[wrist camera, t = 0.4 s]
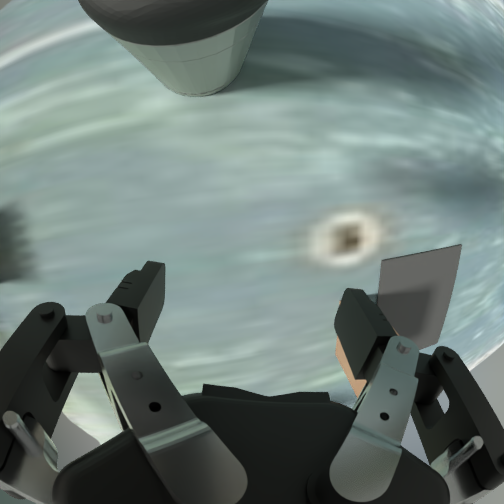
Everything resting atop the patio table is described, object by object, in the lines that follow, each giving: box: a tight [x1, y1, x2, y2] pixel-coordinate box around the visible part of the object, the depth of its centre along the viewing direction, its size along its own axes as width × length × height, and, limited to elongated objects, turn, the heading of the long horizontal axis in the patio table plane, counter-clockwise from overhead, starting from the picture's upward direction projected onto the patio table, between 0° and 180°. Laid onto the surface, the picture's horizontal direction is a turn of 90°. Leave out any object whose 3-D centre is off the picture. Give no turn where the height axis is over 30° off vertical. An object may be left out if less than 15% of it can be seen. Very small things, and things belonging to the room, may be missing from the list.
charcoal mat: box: [377, 244, 462, 350], centre depth 40 cm, size 20×16×1 cm
